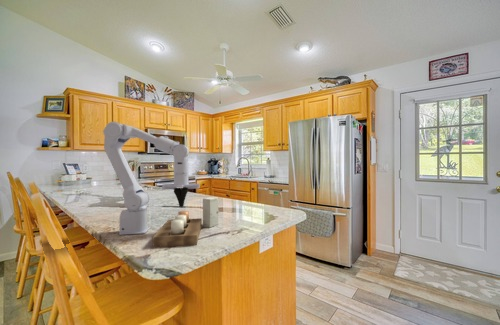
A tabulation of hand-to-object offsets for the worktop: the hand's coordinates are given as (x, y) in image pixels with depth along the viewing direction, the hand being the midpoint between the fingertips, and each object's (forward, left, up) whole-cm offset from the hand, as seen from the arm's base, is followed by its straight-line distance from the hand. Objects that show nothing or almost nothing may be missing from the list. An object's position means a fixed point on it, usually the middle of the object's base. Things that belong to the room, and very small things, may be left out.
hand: (181, 206), depth 89 cm
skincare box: (+12, +5, -10) cm, 16 cm away
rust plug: (+1, +1, -6) cm, 6 cm away
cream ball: (+1, -6, -6) cm, 9 cm away
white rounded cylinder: (+1, -13, -6) cm, 15 cm away
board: (+1, -6, -10) cm, 12 cm away
